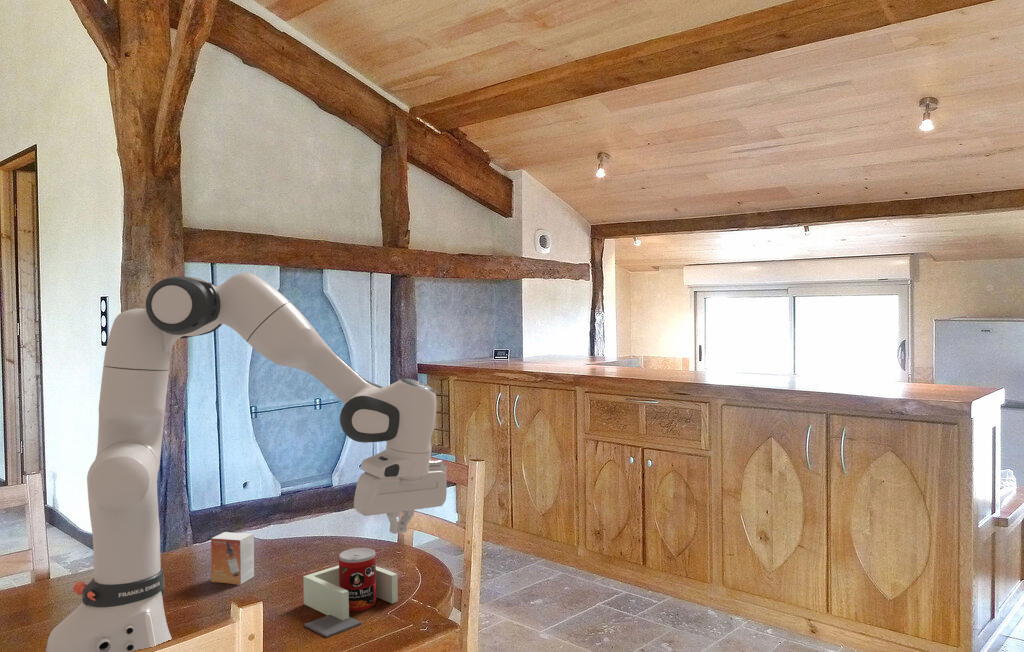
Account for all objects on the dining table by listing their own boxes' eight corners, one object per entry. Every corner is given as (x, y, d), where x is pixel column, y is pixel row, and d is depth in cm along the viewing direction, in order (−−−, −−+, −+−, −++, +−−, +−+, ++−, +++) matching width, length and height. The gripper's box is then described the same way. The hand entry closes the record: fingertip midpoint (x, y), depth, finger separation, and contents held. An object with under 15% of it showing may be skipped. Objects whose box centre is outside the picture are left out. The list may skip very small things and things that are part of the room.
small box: (210, 582, 169) (209, 538, 169) (225, 574, 175) (224, 531, 174) (241, 585, 167) (240, 540, 167) (255, 576, 173) (254, 532, 173)
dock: (342, 622, 146) (342, 592, 146) (303, 604, 156) (303, 576, 155) (397, 601, 156) (397, 573, 156) (358, 585, 166) (357, 559, 166)
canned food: (338, 613, 150) (337, 560, 150) (341, 598, 158) (340, 548, 158) (376, 610, 152) (375, 558, 151) (376, 595, 159) (375, 546, 159)
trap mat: (326, 637, 139) (326, 635, 139) (304, 626, 144) (304, 624, 144) (361, 624, 145) (361, 622, 145) (338, 613, 150) (338, 611, 150)
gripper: (437, 456, 151) (429, 521, 152) (354, 461, 137) (345, 533, 137) (457, 463, 147) (448, 530, 147) (373, 470, 132) (363, 544, 133)
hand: (397, 532), depth 142 cm, fingers closed
